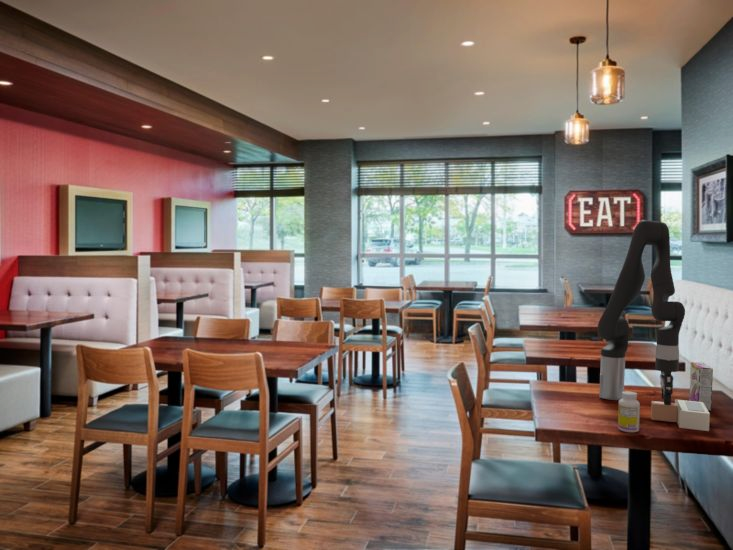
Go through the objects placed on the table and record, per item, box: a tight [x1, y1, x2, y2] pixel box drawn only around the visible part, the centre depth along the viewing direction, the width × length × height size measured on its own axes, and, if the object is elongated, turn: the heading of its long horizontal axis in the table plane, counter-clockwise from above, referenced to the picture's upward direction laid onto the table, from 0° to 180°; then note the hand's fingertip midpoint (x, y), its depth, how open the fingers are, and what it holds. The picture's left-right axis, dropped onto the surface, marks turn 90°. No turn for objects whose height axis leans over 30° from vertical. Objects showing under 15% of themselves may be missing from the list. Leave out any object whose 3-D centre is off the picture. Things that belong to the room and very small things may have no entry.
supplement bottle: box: [617, 390, 641, 433], centre depth 206 cm, size 7×7×13 cm
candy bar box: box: [688, 361, 714, 411], centre depth 237 cm, size 11×5×16 cm, turn 168°
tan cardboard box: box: [650, 400, 677, 423], centre depth 218 cm, size 8×4×6 cm, turn 68°
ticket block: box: [674, 399, 711, 432], centre depth 215 cm, size 9×16×6 cm, turn 159°
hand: (666, 402), depth 218 cm, fingers open, 8 cm apart
